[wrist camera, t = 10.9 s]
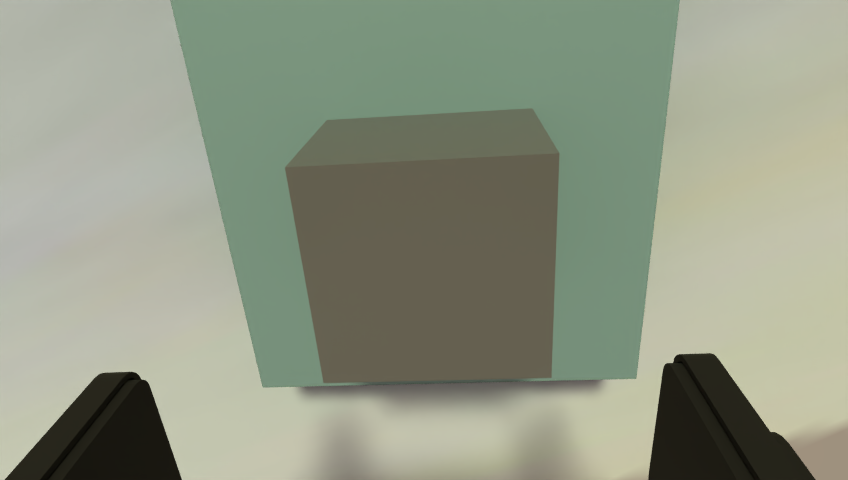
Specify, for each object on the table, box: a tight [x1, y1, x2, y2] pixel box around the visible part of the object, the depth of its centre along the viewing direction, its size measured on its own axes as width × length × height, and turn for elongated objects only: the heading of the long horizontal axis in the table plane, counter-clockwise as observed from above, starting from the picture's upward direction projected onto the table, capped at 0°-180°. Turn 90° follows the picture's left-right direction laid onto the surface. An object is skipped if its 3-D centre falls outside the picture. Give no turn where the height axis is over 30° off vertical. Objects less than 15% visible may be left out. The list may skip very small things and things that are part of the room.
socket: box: [170, 0, 680, 387], centre depth 21 cm, size 15×15×4 cm
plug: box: [285, 108, 560, 383], centre depth 19 cm, size 7×7×9 cm
